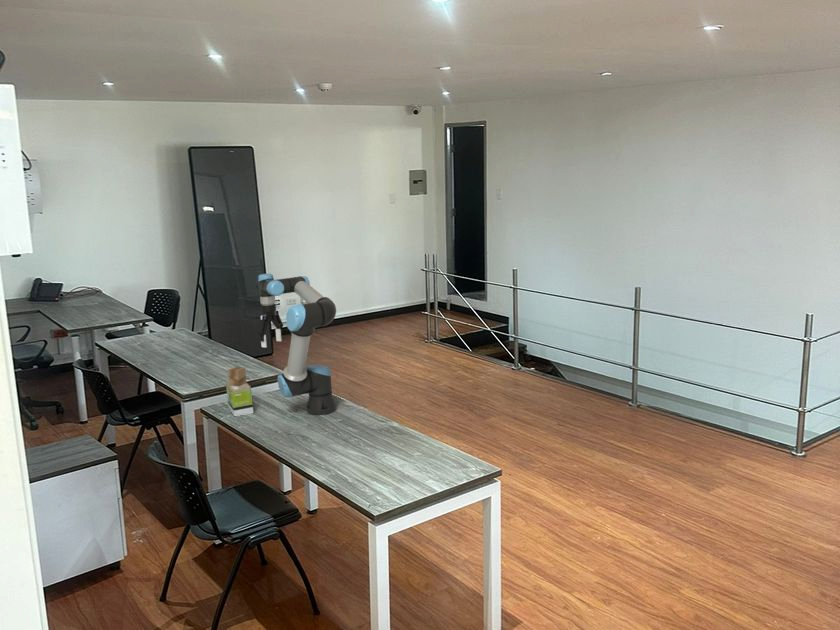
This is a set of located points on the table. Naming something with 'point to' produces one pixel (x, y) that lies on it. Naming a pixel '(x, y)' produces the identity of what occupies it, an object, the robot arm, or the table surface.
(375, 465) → the table surface
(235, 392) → the tea box
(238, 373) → the walnut block
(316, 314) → the robot arm
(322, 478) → the table surface
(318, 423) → the table surface
